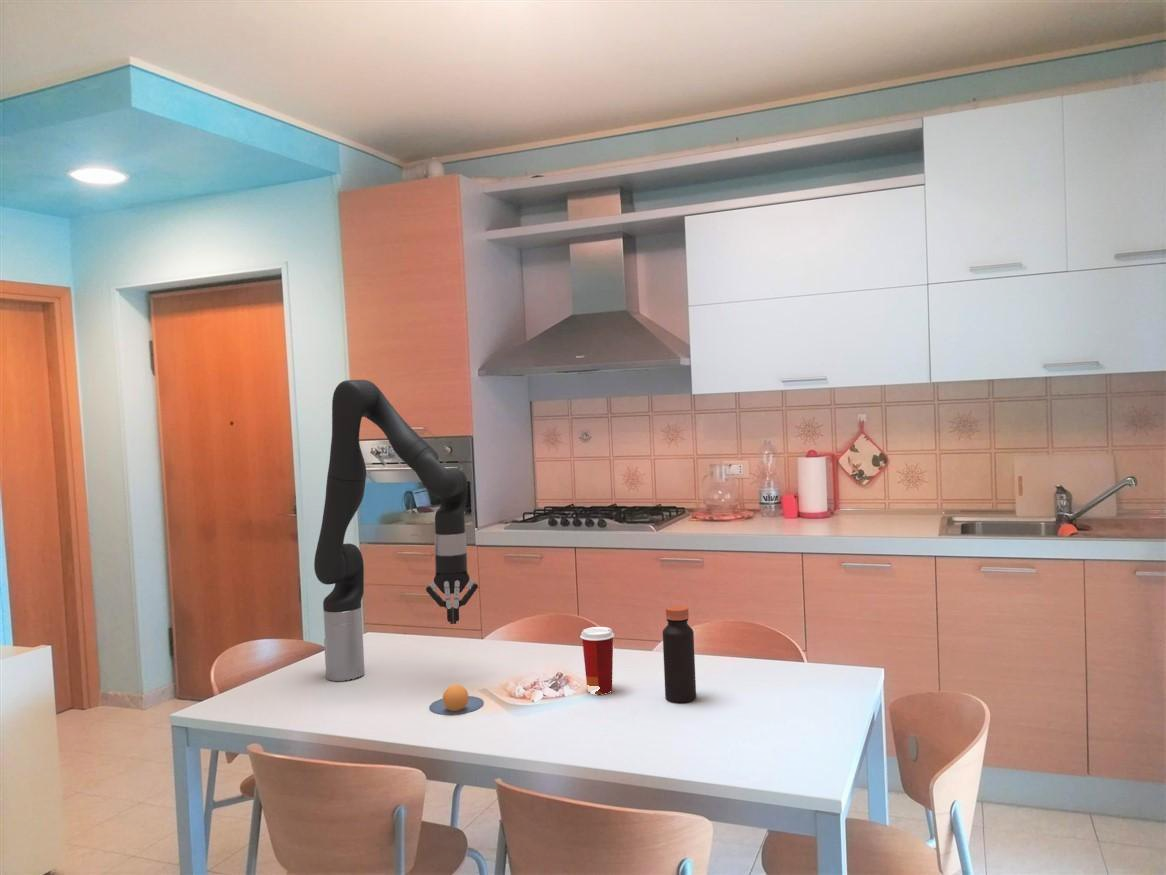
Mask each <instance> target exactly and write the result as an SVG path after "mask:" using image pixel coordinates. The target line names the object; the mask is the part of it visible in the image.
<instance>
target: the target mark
mask: <svg viewBox="0 0 1166 875" xmlns="http://www.w3.org/2000/svg"><path fill="white" fill-rule="evenodd" d="M468 696H469V699H468V703H467V705H466V706H465V708H463V709H462V710H460V711H456V712H454V711H450V710H448V709H447V708H446V707H445V706H444V703H443V698H440V699H437V700H435V701H432V703H431V704H430V705H429V708H428V709H429V711H430V710H431V711H430V712H432V713H434V714H437V715H443V714H444V715H443V716H445V715H446V716H455V714H457V715H463V714H467V713H468V712H469V713H472V712H475V711H477V710H479V709H480V707H481V708H482V707H483V706H484V703H485V702H484V700H483V699H482V698H480V697H478V696H473V695H468Z"/></svg>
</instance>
